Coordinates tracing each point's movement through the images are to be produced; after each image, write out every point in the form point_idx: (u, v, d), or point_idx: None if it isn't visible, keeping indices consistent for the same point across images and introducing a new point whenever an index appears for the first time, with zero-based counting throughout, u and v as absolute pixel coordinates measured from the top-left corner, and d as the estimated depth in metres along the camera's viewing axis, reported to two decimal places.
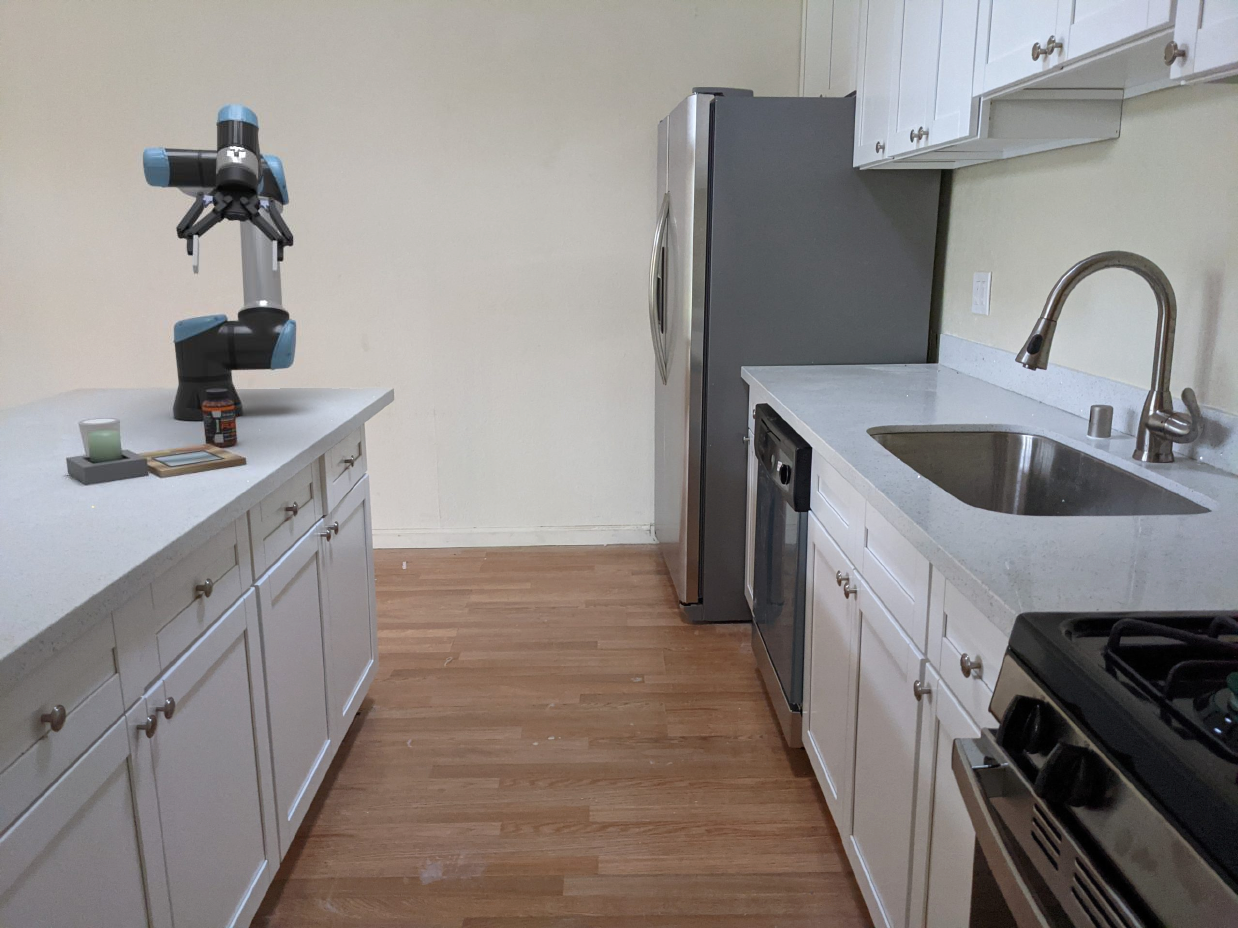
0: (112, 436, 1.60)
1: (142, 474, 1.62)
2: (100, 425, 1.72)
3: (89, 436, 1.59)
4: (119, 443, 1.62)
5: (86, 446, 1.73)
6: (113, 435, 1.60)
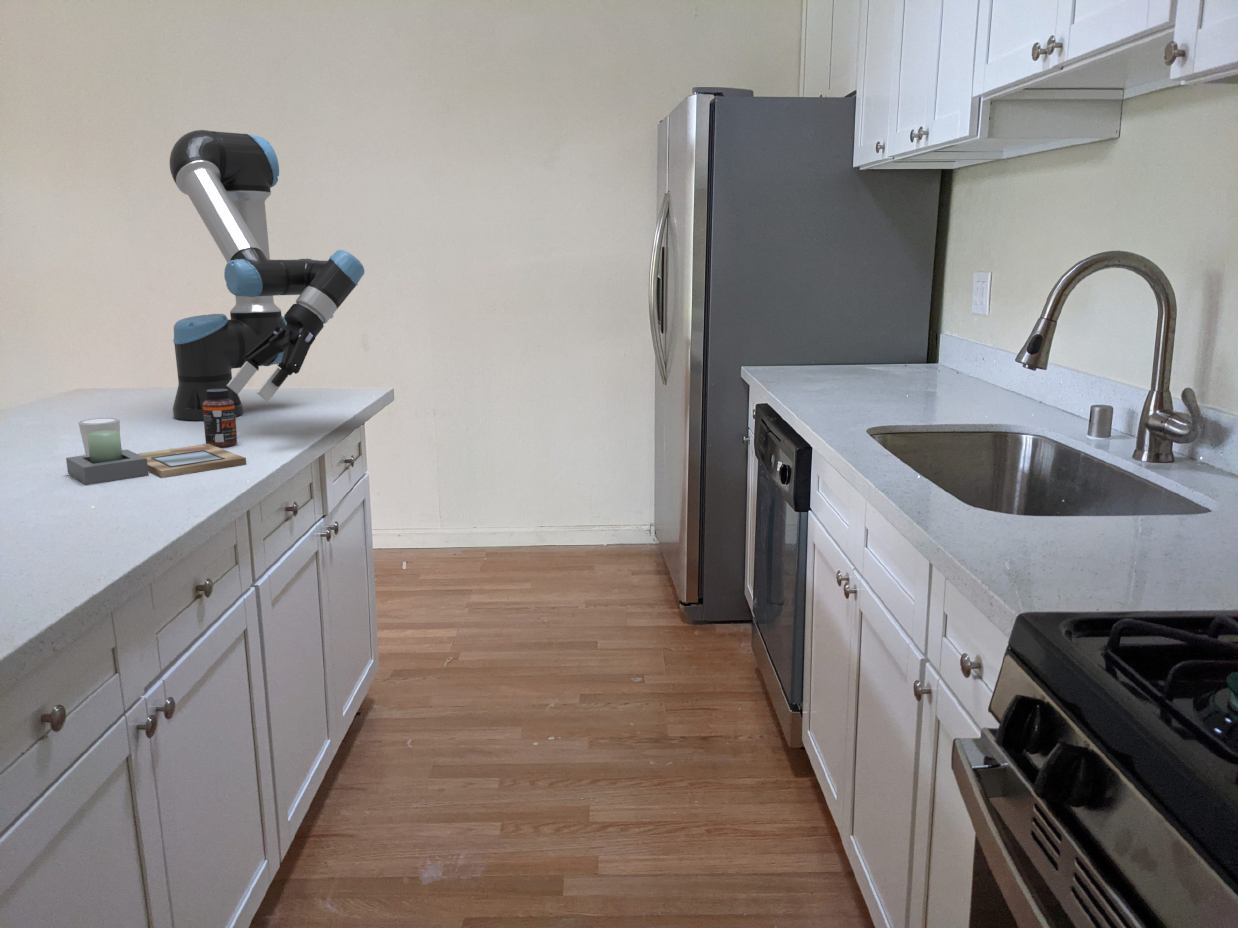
0: (112, 436, 1.60)
1: (142, 474, 1.62)
2: (100, 425, 1.72)
3: (89, 436, 1.59)
4: (119, 443, 1.62)
5: (86, 446, 1.73)
6: (113, 435, 1.60)
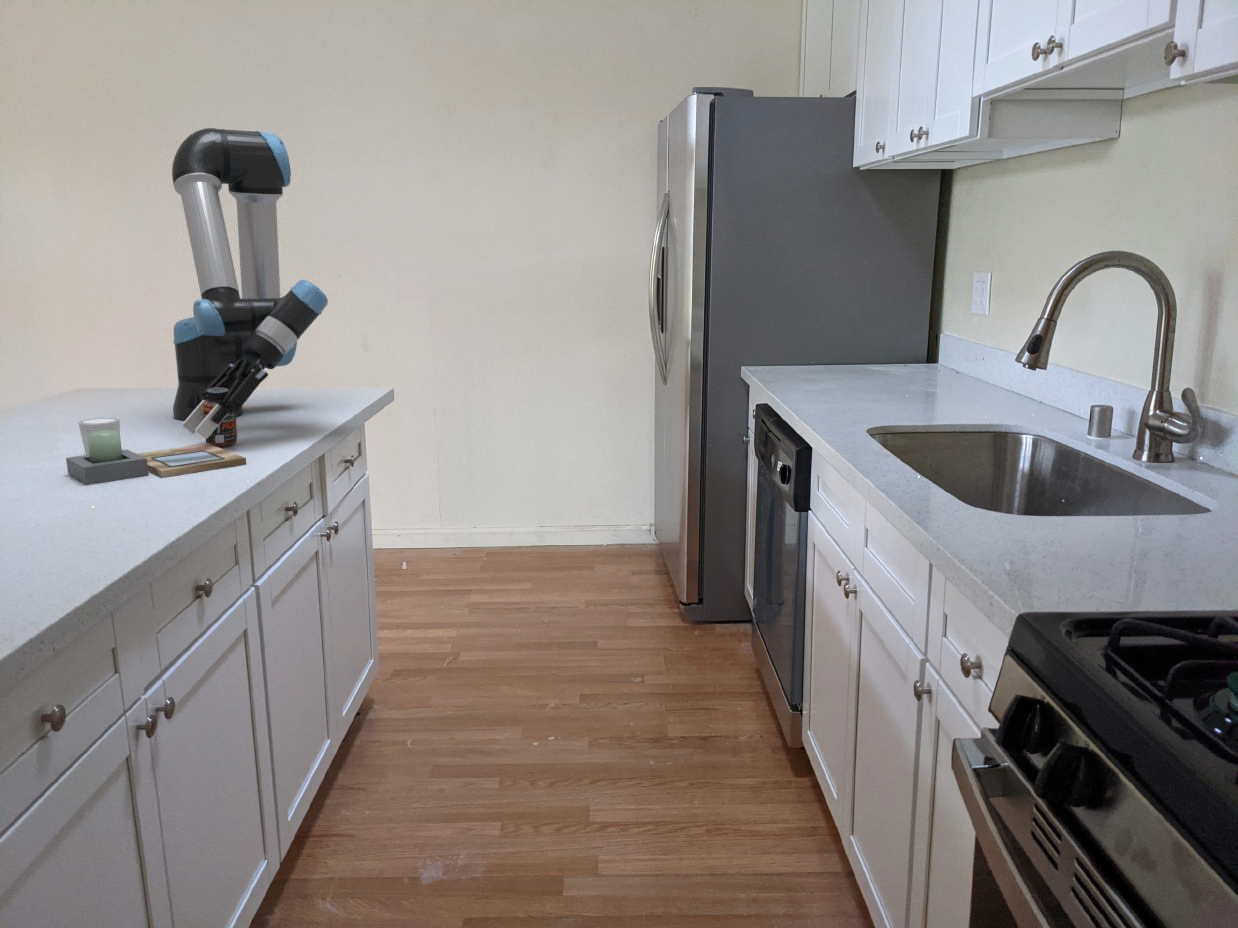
0: (112, 436, 1.60)
1: (142, 474, 1.62)
2: (100, 425, 1.72)
3: (89, 436, 1.59)
4: (119, 443, 1.62)
5: (86, 446, 1.73)
6: (113, 435, 1.60)
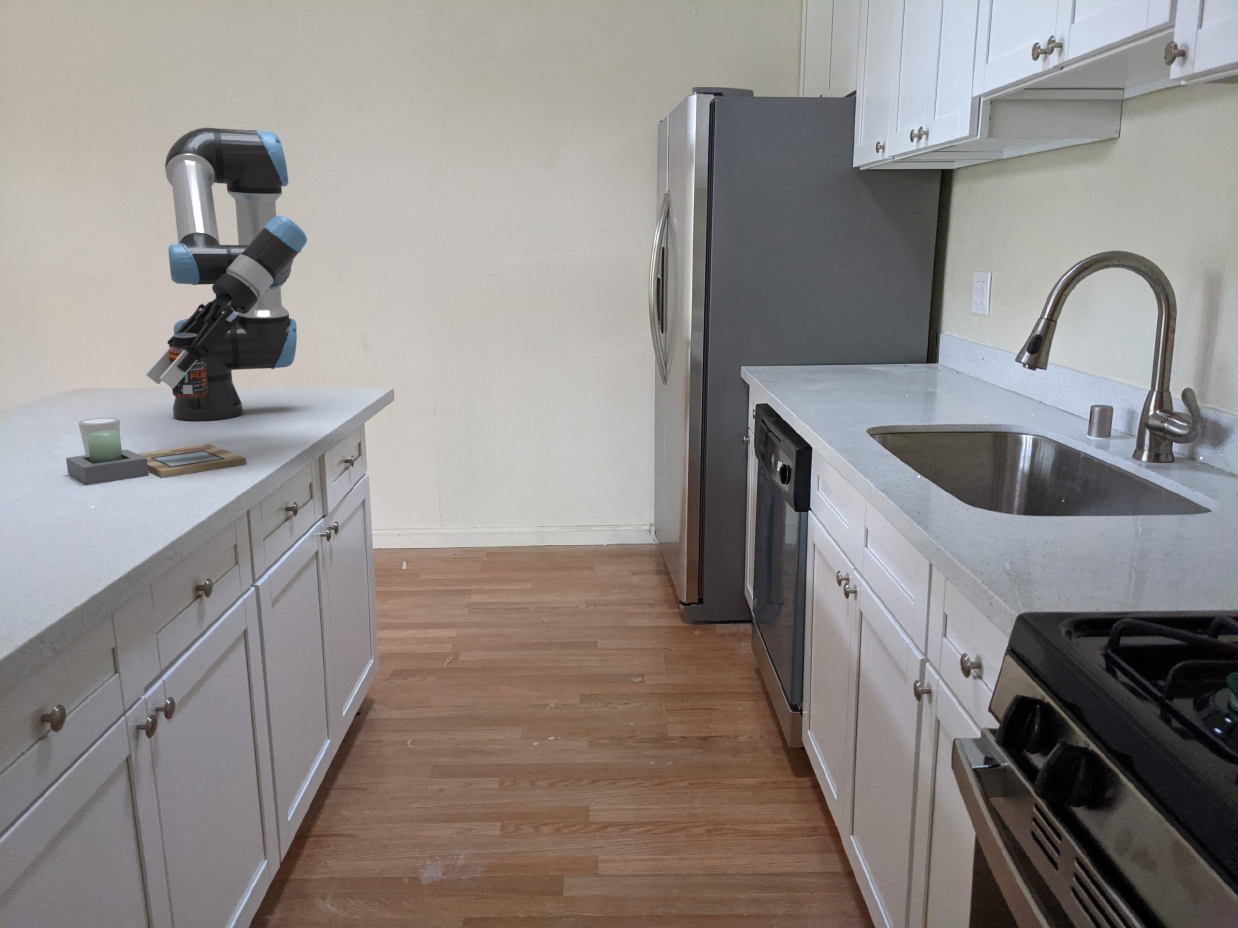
0: (112, 436, 1.60)
1: (142, 474, 1.62)
2: (100, 425, 1.72)
3: (89, 436, 1.59)
4: (119, 443, 1.62)
5: (86, 446, 1.73)
6: (113, 435, 1.60)
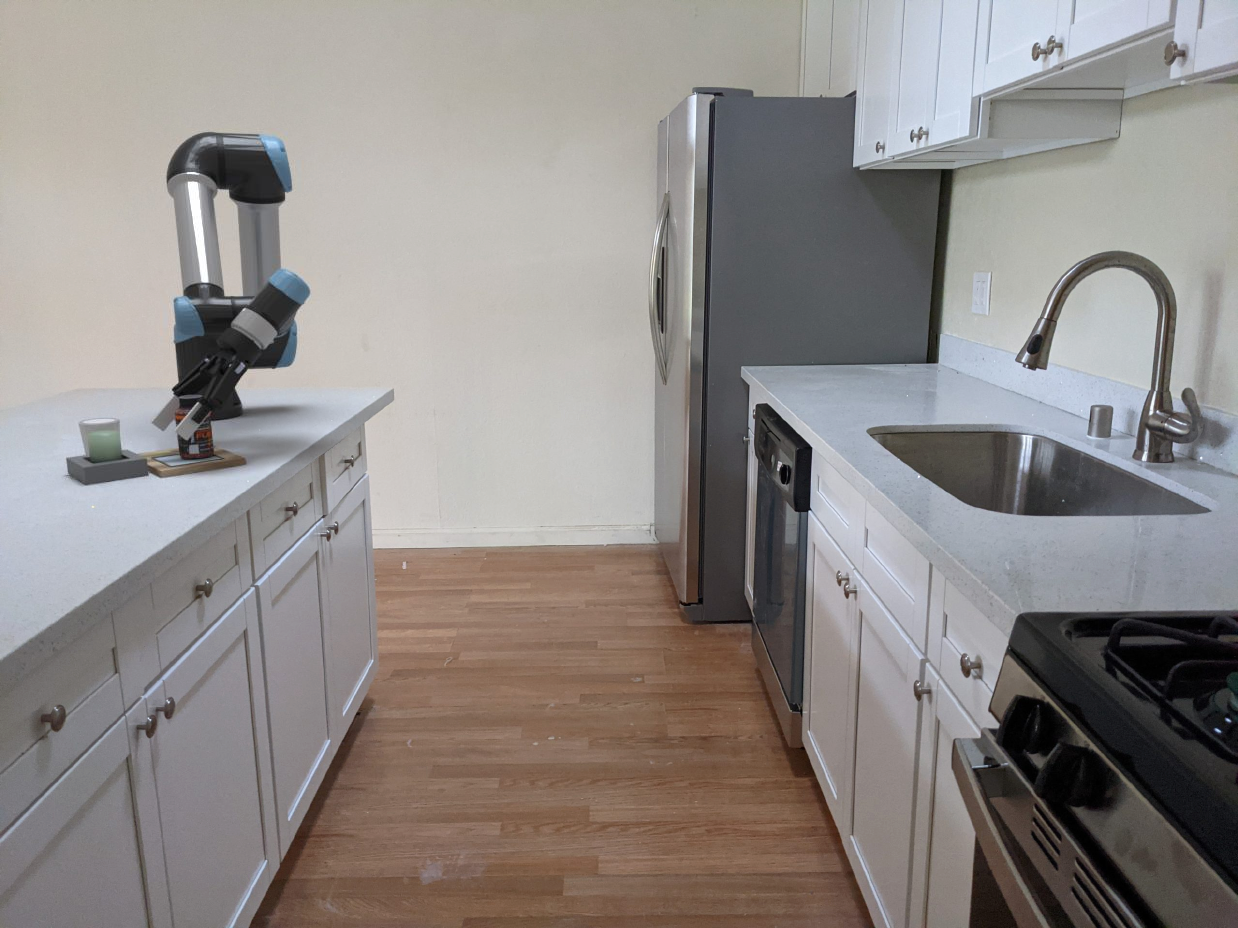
0: (112, 436, 1.60)
1: (142, 474, 1.62)
2: (100, 425, 1.72)
3: (89, 436, 1.59)
4: (119, 443, 1.62)
5: (86, 446, 1.73)
6: (113, 435, 1.60)
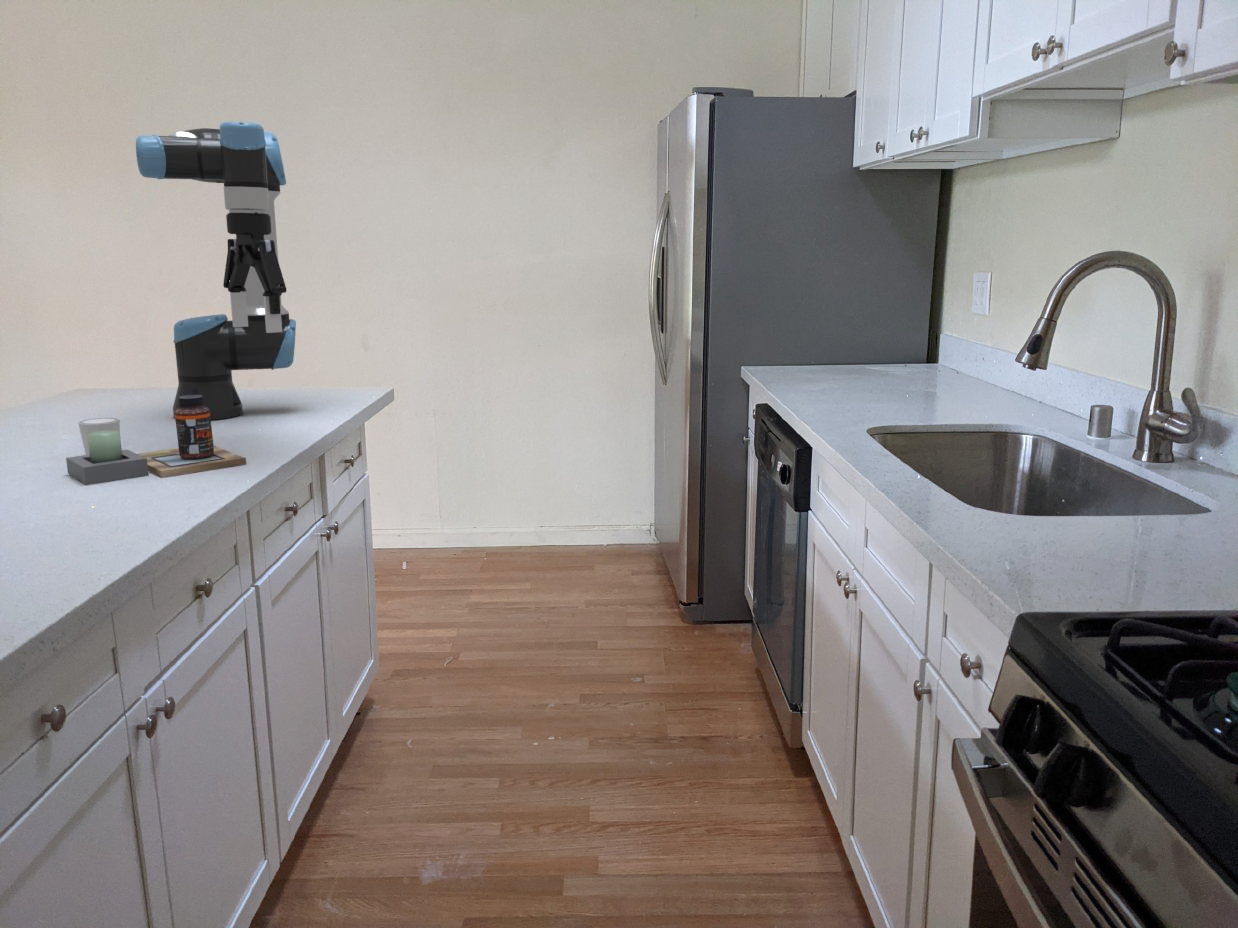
0: (112, 436, 1.60)
1: (142, 474, 1.62)
2: (100, 425, 1.72)
3: (89, 436, 1.59)
4: (119, 443, 1.62)
5: (86, 446, 1.73)
6: (113, 435, 1.60)
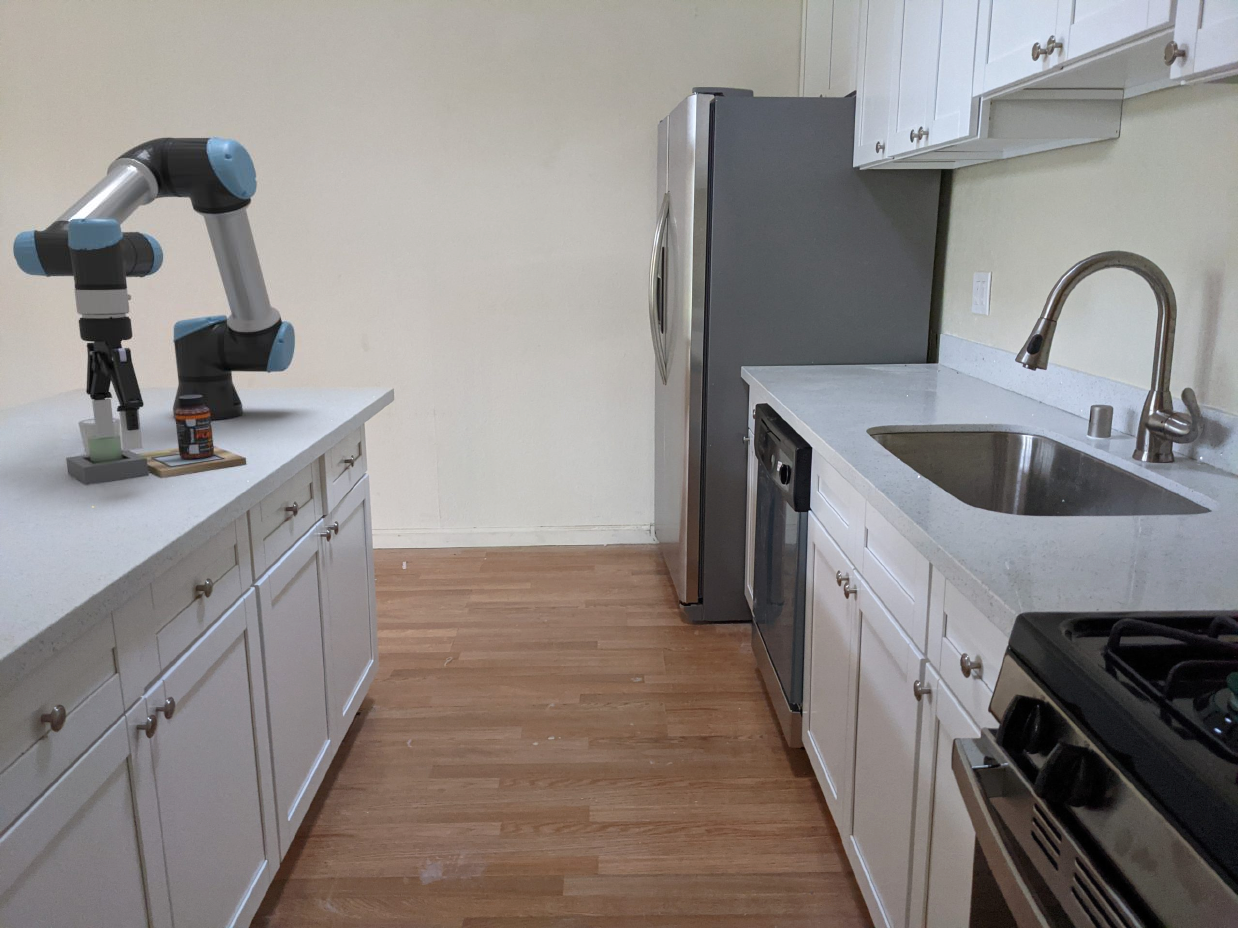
0: (113, 440, 1.60)
1: (142, 474, 1.62)
2: None
3: (90, 440, 1.59)
4: (120, 447, 1.62)
5: (86, 446, 1.73)
6: (114, 439, 1.60)
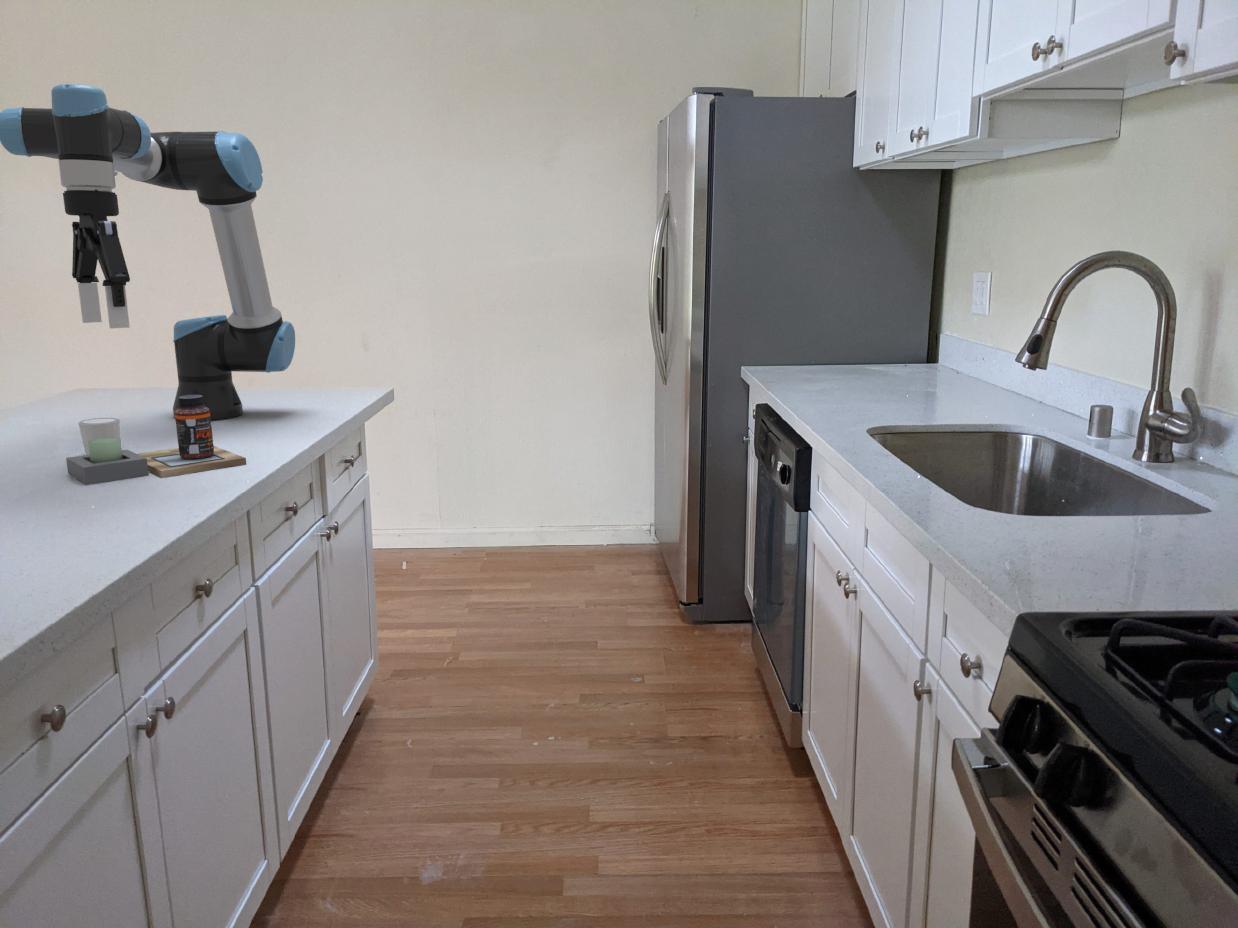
0: (113, 444, 1.60)
1: (142, 474, 1.62)
2: (100, 425, 1.72)
3: (90, 444, 1.59)
4: (120, 450, 1.62)
5: (86, 446, 1.73)
6: (114, 443, 1.60)
